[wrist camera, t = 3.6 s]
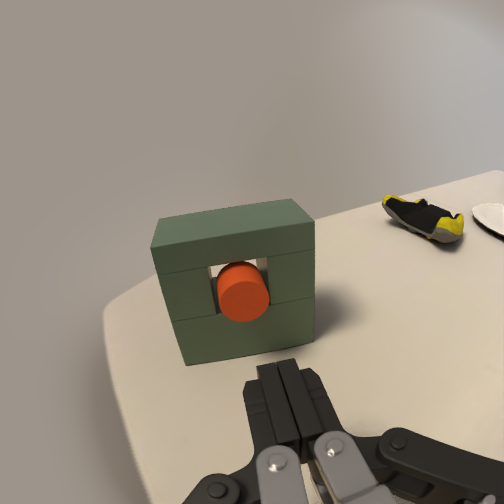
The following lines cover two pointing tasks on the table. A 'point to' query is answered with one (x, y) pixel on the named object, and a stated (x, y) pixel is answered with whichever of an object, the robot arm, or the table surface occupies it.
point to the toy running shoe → (425, 218)
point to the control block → (228, 251)
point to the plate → (490, 216)
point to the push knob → (241, 291)
